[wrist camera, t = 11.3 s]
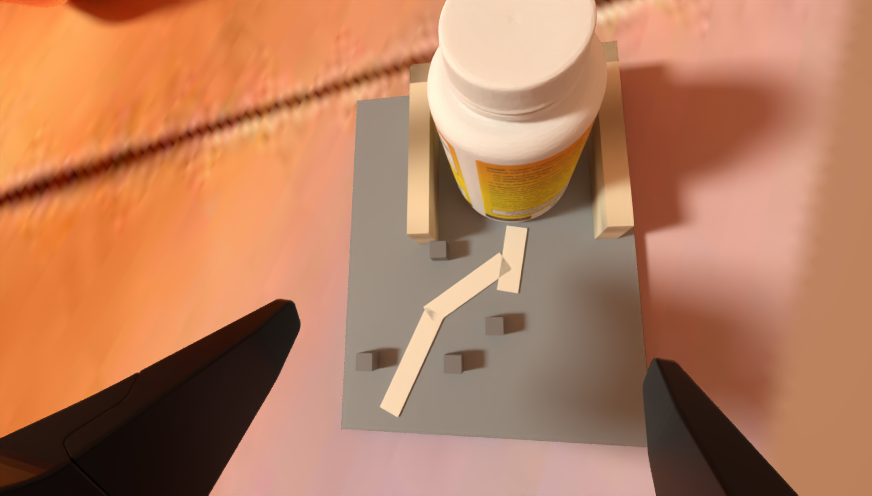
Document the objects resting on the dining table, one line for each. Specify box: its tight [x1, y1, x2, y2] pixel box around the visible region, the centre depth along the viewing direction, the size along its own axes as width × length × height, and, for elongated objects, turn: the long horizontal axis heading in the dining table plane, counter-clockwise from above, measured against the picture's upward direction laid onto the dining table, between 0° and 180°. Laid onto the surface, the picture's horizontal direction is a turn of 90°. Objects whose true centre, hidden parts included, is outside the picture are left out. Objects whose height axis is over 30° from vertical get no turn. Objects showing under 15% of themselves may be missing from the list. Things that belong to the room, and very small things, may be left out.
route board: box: [341, 96, 647, 447], centre depth 19 cm, size 18×14×2 cm
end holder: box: [407, 41, 634, 245], centre depth 18 cm, size 8×10×2 cm
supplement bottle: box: [427, 0, 607, 222], centre depth 15 cm, size 6×6×10 cm
